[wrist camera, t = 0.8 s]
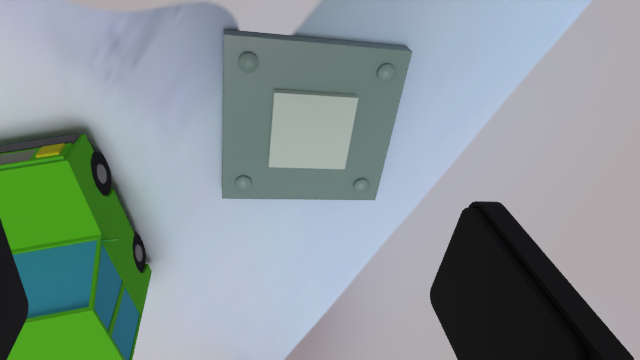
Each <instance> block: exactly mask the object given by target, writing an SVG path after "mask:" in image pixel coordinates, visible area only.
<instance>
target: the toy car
mask: <svg viewBox="0 0 640 360" xmlns="http://www.w3.org/2000/svg"><path fill="white" fill-rule="evenodd" d="M110 188H111V174H110V170H109V167H108V164H107V162H106V160H105V158H104V156H103V155H102V154H101V153H99V152H94V150H93V148H92V146H91V144H90V143H89V141H88V139H87V137H86V135H85V134H82V135H79V134H72V135H65V136H59V137H52V138H46V139H39V140H33V141H27V142H20V143H14V144H7V145H1V146H0V219H1V222H2V225H3V228H4V231H5V234H6V237H7V240H8V243H9V245H10V248H11V251H12V254H13V257H14V260H15V263H16V266H17V269H18V272H19V275H20V278H21V281H22V284H23V287H24V290H25V293H26V296H27V299H28V303H29V309H28V315H27V319H26V321H25V323H24V325H23V328H22V330H21V332H20V334H19V336H18V338H17V340H16V342H15V344H14V346H13V348H12V350H11V352H10V354H9V356H8V358H7V360H132V358H133V354H134V349H135V344H136V340H137V335H138V331H139V326H140V322H141V317H142V313H143V308H144V304H145V299H146V294H147V290H148V285H149V281H150V276H151V269H150V267H149V265H148V264H145V260H146V257H145V248H144V245H143V242H142V240H141V238H140V236H139V235H137V234H134V232H133V230H132V228H131V226H130V223H129V221H128V219H127V217H126V215H125V212H124V210H123V208H122V206H121V204H120V201H119V199H118V197H117V195H116V193H115V191H114V189H110Z"/></svg>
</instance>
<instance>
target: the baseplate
mask: <svg viewBox="0 0 640 360" xmlns="http://www.w3.org/2000/svg"><path fill="white" fill-rule="evenodd" d="M411 54H412V51H411V50H410V49H409V48H408V47H406V46H399V45H388V44H377V43H366V42H356V41H345V40H334V39H323V38H312V37H301V36H291V35H279V34H269V33H257V32H247V31H237V30H226V29H224V68H223V159H222V198H230V199H320V200H375V198H376V194H377V190H378V186H379V182H380V178H381V174H382V170H383V166H384V162H385V158H386V154H387V150H388V146H389V142H390V138H391V134H392V130H393V126H394V122H395V118H396V114H397V110H398V106H399V102H400V98H401V94H402V90H403V86H404V82H405V78H406V74H407V70H408V66H409V62H410V58H411Z"/></svg>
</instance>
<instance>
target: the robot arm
mask: <svg viewBox="0 0 640 360" xmlns="http://www.w3.org/2000/svg"><path fill="white" fill-rule="evenodd" d="M430 300H431V304H432V306H433V308H434V310H435V313H436V315H437V317H438V319H439V321H440V323H441V325H442V327H443V329H444V331H445V333H446V336H447V338H448V340H449V342H450V344H451V346H452V348H453V350H454V352H455V354H456V357H457V359H458V360H634V358H633V357H632V355H631V354H630V353H629V352H628V351H627V349H626V348H625V347H624V346H623V345H622V344H621V342H620V341H619V340H618V339H617V338H616V337H615V335H614V334H613V333H612V332H611V331H610V330H609V328H608V327H607V326H606V325H605V324H604V323H603V322H602V320H601V319H600V318H599V317H598V316H597V315H596V313H595V312H594V311H593V310H592V309H591V308H590V306H589V305H588V304H587V303H586V301H585V300H584V299H583V298H582V297H581V296H580V295H579V293H578V292H577V291H576V290H575V289H574V288H573V286H572V285H571V284H570V283H569V282H568V280H567V279H566V278H565V277H564V276H563V275H562V273H561V272H560V271H559V270H558V269H557V268H556V266H555V265H554V264H553V263H552V262H551V261H550V259H549V258H548V257H547V256H546V255H545V253H543V251H542V250H541V249H540V248H539V246H538V245H537V244H536V243H535V242H534V241H533V240H532V238H531V237H530V236H529V235H528V234H527V232H526V231H525V230H524V229H523V228H522V227H521V225H520V224H519V223H518V222H517V221H516V220H515V218H514V217H513V216H512V215H511V214H510V213H509V211H508V210H507V209H506V208H505V207H504V206H503V205H502V204H501V203H499V202H477V201H476V202H472V203H471V204H470V205H469V207H468V208H465V209H464V210H463V211H462V213H461V215H460V218H459V220H458V223H457V226H456V228H455V230H454V233H453V235H452V238H451V240H450V243H449V245H448V248H447V250H446V252H445V255H444V258H443V260H442V263H441V265H440V267H439V270H438V272H437V275H436V277H435V280H434V282H433V285H432V287H431V291H430ZM28 309H29V303H28V299H27V296H26V293H25V290H24V287H23V284H22V281H21V278H20V275H19V272H18V269H17V266H16V263H15V260H14V257H13V254H12V251H11V248H10V245H9V243H8V240H7V237H6V234H5V231H4V228H3V225H2V222H1V219H0V360H7V358H8V356H9V354H10V352H11V350H12V348H13V346H14V344H15V342H16V340H17V338H18V336H19V334H20V332H21V330H22V328H23V325H24V323H25V321H26V319H27V315H28Z"/></svg>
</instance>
